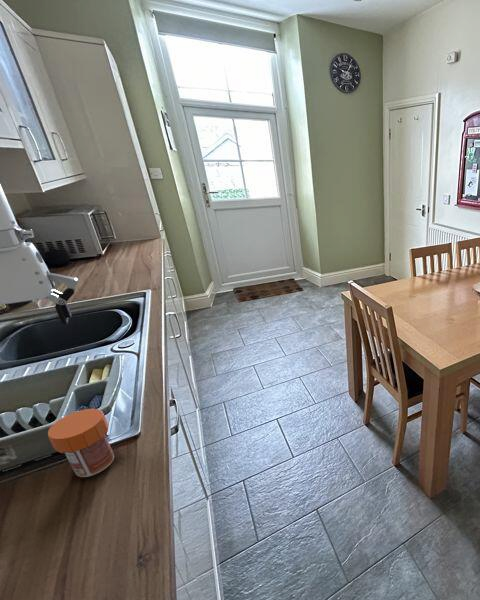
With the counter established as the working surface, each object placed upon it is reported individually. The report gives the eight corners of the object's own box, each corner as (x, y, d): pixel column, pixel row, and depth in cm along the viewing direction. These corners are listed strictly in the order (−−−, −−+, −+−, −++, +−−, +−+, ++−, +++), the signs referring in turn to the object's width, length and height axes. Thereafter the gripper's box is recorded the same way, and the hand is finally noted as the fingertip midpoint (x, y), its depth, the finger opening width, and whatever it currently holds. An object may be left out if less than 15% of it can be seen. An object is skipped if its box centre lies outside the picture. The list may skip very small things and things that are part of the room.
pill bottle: (118, 449, 72) (102, 409, 67) (110, 471, 67) (92, 431, 62) (81, 458, 69) (62, 418, 65) (70, 483, 64) (48, 441, 60)
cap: (43, 454, 61) (35, 440, 59) (75, 422, 68) (69, 409, 66) (90, 451, 62) (83, 437, 60) (117, 420, 69) (112, 407, 67)
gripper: (63, 230, 63) (92, 310, 70) (-84, 240, 53) (-33, 331, 60) (58, 239, 58) (90, 324, 65) (-106, 251, 48) (-47, 350, 55)
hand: (31, 327), depth 63 cm, fingers open, 9 cm apart
